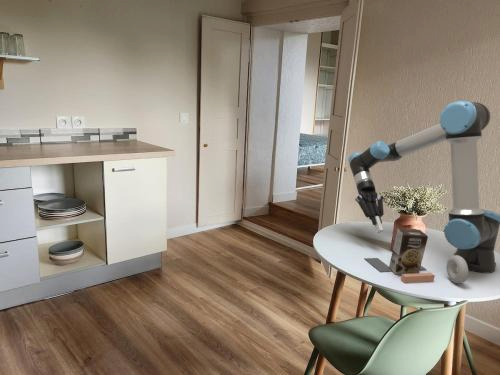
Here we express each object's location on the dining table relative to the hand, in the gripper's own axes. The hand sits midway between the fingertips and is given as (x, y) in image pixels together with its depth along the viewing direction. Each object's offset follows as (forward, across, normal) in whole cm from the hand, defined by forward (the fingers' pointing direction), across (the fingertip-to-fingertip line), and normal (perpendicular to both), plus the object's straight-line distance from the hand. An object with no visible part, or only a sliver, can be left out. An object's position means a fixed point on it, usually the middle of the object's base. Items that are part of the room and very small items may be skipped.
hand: (380, 231), depth 164 cm
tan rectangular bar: (+26, 0, +12) cm, 28 cm away
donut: (+27, -14, +14) cm, 33 cm away
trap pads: (+16, 0, +3) cm, 16 cm away
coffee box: (+20, +1, +7) cm, 21 cm away
